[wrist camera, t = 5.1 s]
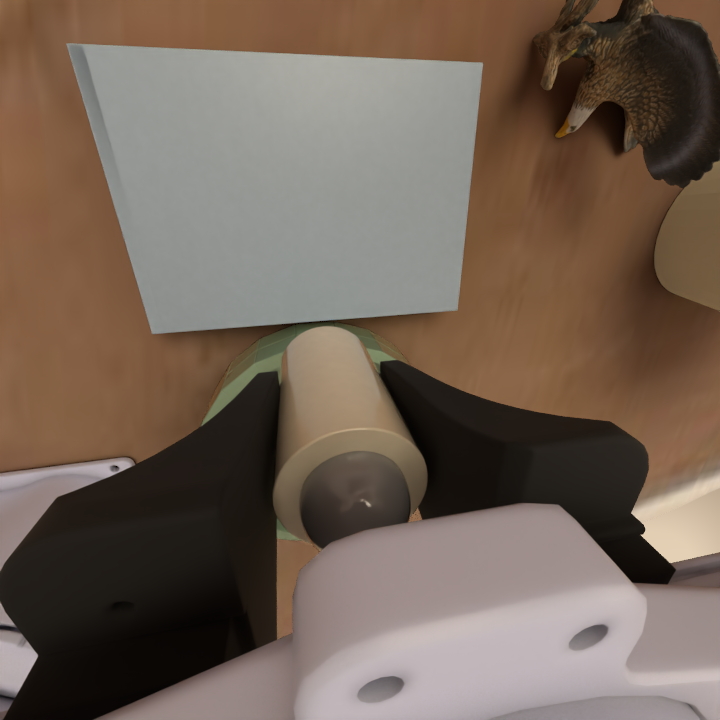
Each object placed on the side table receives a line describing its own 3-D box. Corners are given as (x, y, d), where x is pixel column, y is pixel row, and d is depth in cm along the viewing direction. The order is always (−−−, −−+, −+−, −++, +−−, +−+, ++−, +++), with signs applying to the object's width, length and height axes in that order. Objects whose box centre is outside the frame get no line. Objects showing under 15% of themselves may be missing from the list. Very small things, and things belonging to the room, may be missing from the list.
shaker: (285, 411, 14) (280, 626, 7) (274, 329, 12) (254, 496, 5) (370, 402, 14) (446, 591, 7) (369, 322, 13) (465, 464, 6)
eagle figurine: (486, 162, 17) (636, 225, 18) (616, -13, 10) (841, 106, 11) (512, 52, 19) (647, 116, 20) (637, -160, 12) (832, -44, 13)
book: (166, 320, 19) (151, 334, 17) (97, 65, 14) (65, 43, 12) (442, 300, 21) (457, 310, 19) (460, 79, 17) (483, 62, 15)
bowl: (233, 507, 25) (224, 558, 21) (190, 329, 19) (167, 358, 15) (414, 479, 27) (433, 520, 23) (424, 311, 21) (452, 332, 18)
